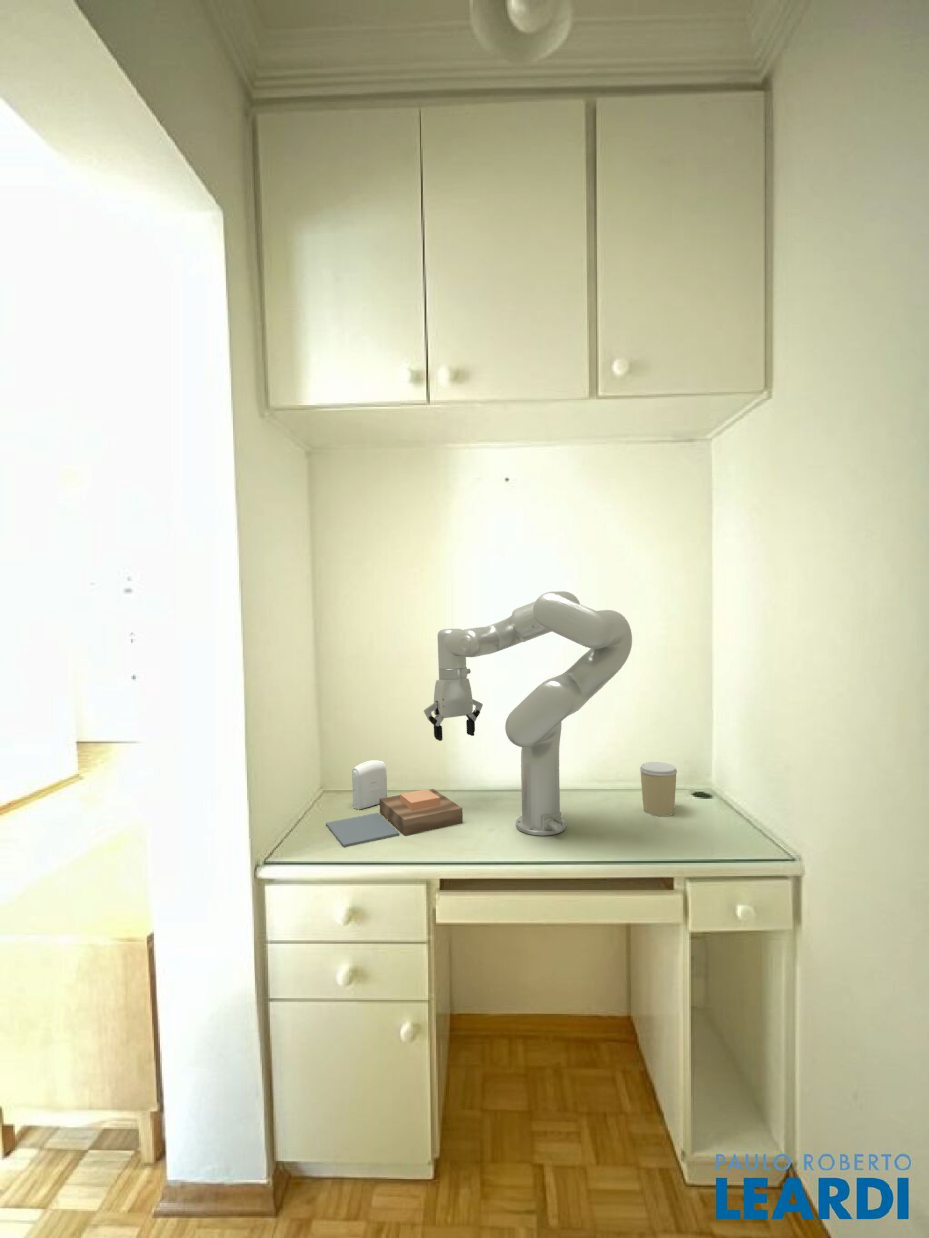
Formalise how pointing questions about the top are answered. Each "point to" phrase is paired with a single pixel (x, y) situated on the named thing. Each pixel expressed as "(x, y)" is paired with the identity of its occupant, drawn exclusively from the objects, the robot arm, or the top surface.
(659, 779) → the coffee cup
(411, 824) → the deck
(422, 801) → the tile
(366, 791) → the photo printer
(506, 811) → the top surface
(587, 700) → the robot arm
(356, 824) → the mat
